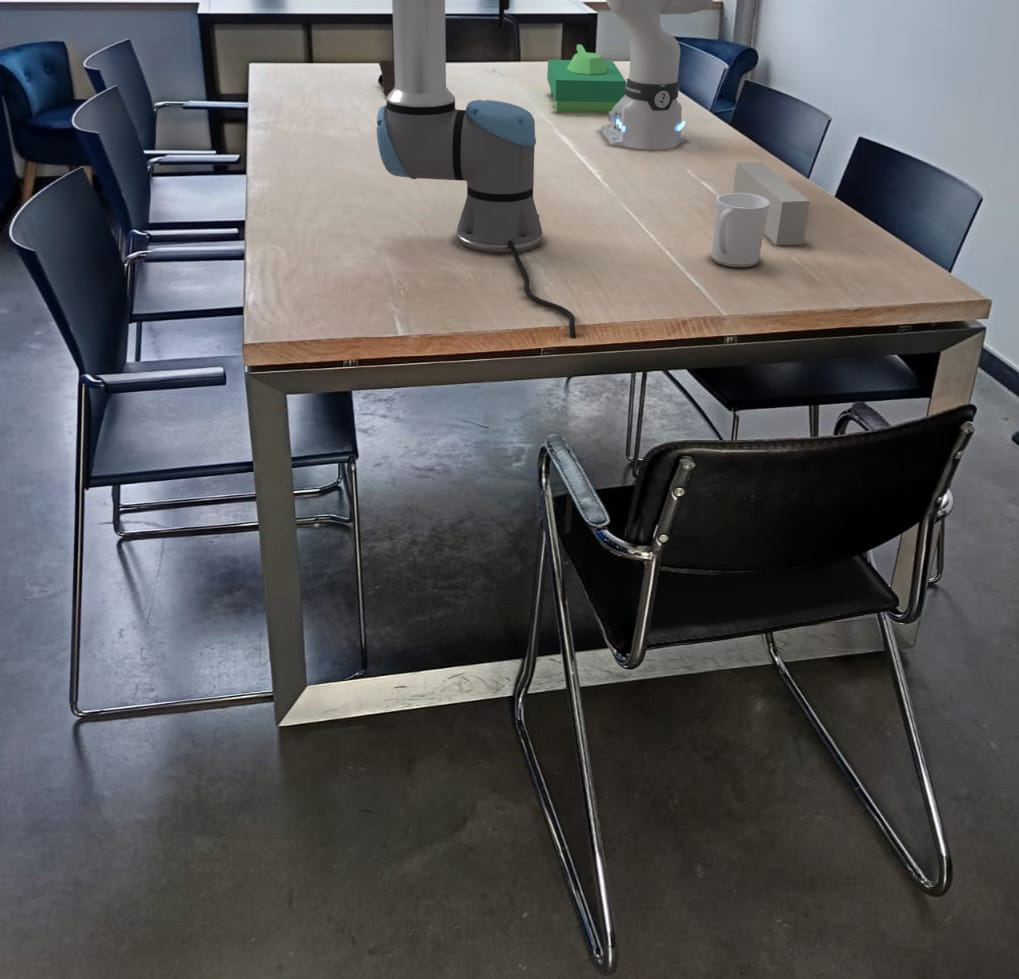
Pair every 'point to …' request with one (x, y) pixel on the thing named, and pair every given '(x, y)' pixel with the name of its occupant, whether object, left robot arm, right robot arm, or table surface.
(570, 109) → the toy tank
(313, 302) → the table surface
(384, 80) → the axe head
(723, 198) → the mug
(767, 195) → the bar
